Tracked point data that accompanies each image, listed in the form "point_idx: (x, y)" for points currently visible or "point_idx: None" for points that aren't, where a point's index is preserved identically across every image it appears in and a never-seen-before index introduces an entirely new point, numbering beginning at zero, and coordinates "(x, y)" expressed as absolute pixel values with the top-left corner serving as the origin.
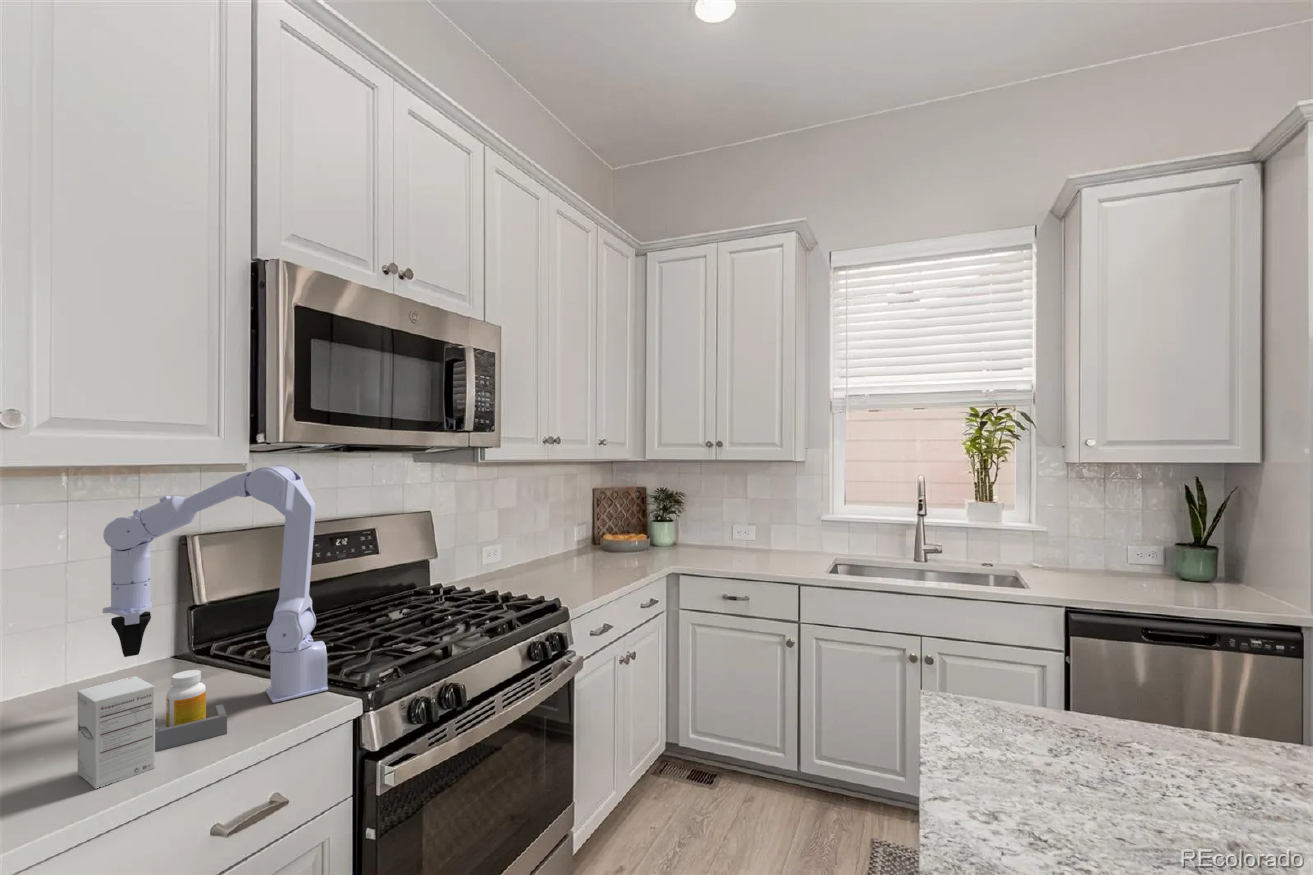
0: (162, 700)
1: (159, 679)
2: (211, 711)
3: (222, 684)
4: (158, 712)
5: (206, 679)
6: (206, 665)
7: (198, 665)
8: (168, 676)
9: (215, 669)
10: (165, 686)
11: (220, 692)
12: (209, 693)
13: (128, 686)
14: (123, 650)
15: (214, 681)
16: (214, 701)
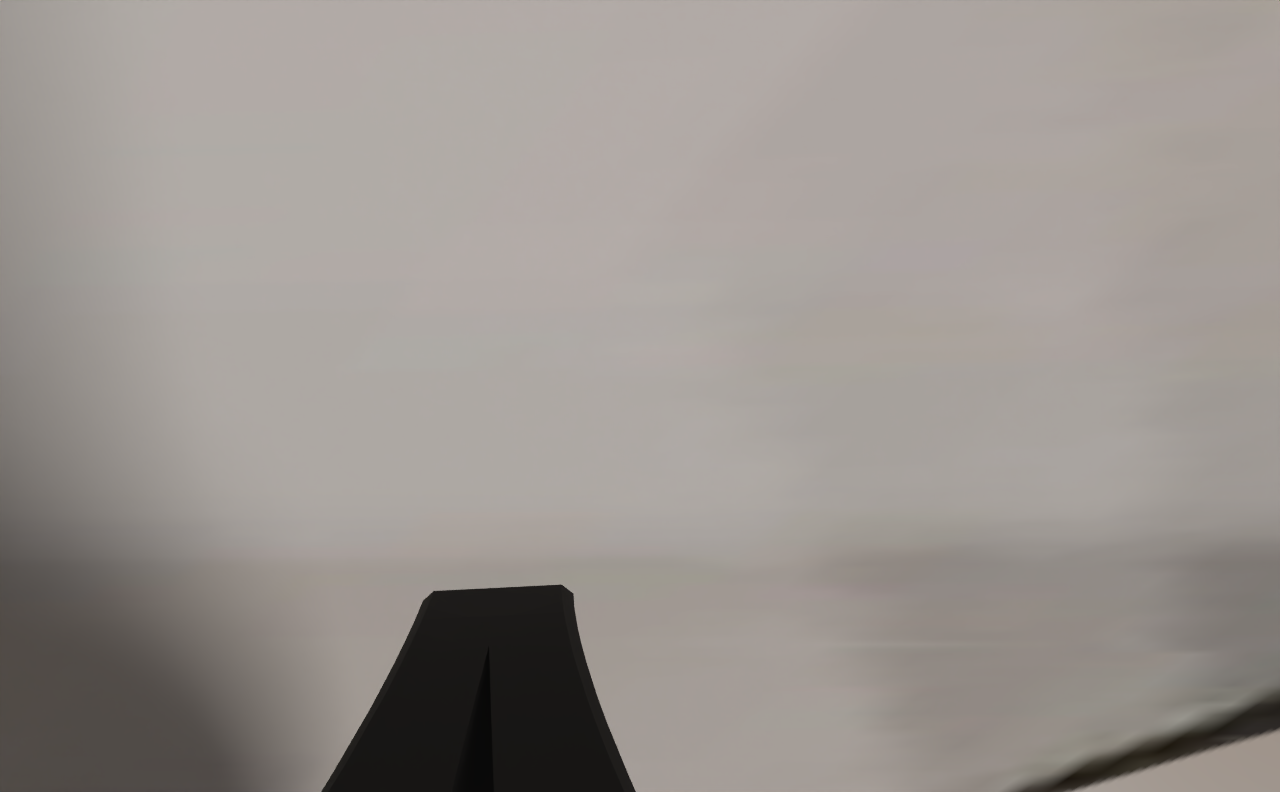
0: (521, 477)
1: (1165, 453)
2: (20, 731)
3: None
4: (200, 455)
5: (839, 711)
6: (1211, 712)
7: (1270, 673)
8: (1184, 508)
9: (1043, 754)
10: (909, 492)
11: None
12: None
13: None
14: (393, 686)
15: (742, 748)
16: (248, 746)
